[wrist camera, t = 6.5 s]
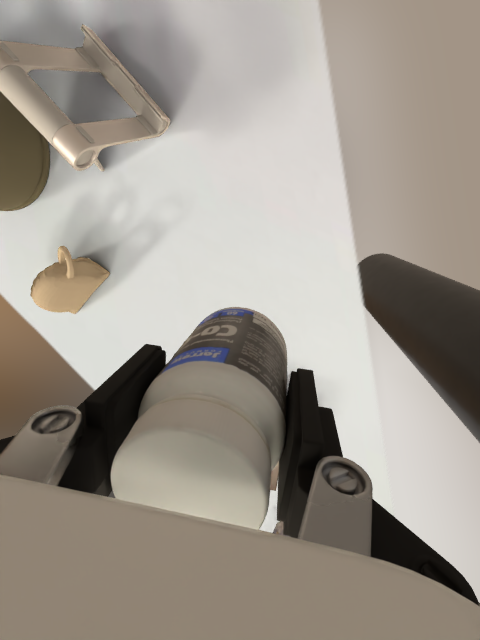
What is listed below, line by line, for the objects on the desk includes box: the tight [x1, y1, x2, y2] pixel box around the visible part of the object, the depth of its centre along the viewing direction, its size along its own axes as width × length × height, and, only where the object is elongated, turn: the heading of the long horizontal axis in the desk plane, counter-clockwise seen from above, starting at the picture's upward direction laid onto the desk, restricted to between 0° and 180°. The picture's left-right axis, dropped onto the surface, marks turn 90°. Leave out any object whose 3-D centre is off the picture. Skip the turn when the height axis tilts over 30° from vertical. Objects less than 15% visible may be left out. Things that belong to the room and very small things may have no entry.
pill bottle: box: [111, 307, 287, 530], centre depth 11 cm, size 5×5×8 cm
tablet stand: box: [0, 24, 170, 172], centre depth 24 cm, size 9×8×8 cm
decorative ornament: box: [31, 246, 110, 314], centre depth 30 cm, size 4×8×5 cm, turn 132°
